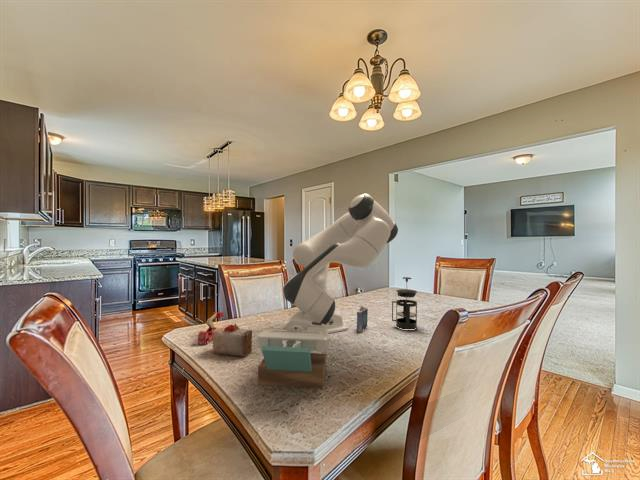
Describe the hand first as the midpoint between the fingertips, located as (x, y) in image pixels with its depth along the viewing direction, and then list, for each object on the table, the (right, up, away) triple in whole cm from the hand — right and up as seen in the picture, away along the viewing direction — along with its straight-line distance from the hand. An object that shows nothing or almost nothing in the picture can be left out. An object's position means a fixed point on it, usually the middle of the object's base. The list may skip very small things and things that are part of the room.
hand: (288, 350), depth 77 cm
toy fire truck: (-35, -11, +41) cm, 55 cm away
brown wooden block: (+1, -11, +10) cm, 15 cm away
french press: (+47, -11, +58) cm, 75 cm away
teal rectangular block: (0, -6, +3) cm, 7 cm away
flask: (+27, -11, +55) cm, 62 cm away
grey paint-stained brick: (-23, -11, +27) cm, 37 cm away
